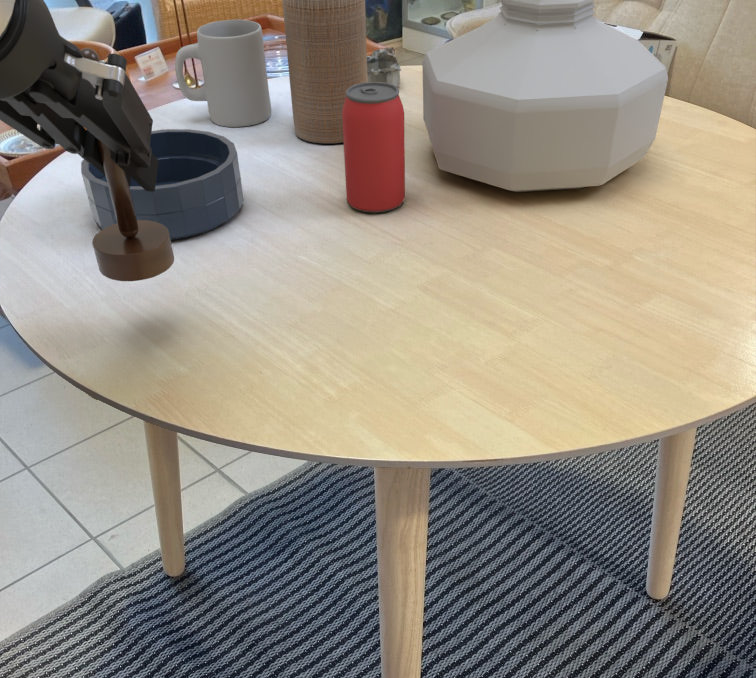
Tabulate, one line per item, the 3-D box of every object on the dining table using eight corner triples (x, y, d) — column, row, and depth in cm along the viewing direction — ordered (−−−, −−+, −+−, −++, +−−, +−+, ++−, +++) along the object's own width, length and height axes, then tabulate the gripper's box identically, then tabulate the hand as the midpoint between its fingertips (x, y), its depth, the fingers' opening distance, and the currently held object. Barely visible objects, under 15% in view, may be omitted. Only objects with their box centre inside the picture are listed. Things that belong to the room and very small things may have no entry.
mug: (267, 102, 122) (257, 16, 114) (275, 123, 116) (266, 33, 108) (182, 112, 120) (166, 25, 112) (186, 133, 114) (170, 43, 106)
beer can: (384, 185, 100) (381, 75, 92) (416, 205, 96) (416, 92, 88) (336, 199, 98) (328, 88, 89) (366, 220, 93) (362, 105, 85)
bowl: (75, 203, 99) (60, 151, 95) (207, 169, 105) (199, 118, 101) (125, 259, 88) (111, 203, 84) (268, 217, 95) (262, 163, 91)
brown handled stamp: (89, 258, 75) (29, 45, 63) (157, 238, 77) (113, 30, 65) (114, 289, 71) (55, 68, 59) (186, 267, 73) (143, 50, 61)
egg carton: (396, 75, 129) (396, 45, 126) (402, 92, 124) (402, 61, 121) (326, 79, 129) (324, 49, 126) (328, 96, 123) (327, 65, 120)
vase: (305, 116, 117) (284, -135, 98) (376, 119, 116) (368, -135, 97) (285, 143, 110) (259, -121, 91) (360, 147, 109) (349, -122, 90)
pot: (637, 222, 91) (674, 28, 78) (388, 194, 98) (384, 12, 85) (661, 128, 110) (693, -40, 98) (450, 110, 117) (455, -48, 105)
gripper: (-159, 65, 50) (55, 212, 74) (70, 75, 48) (216, 224, 71) (-142, -60, 50) (66, 126, 74) (88, -56, 48) (227, 135, 71)
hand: (139, 174), depth 72 cm, fingers closed on brown handled stamp, 2 cm apart
